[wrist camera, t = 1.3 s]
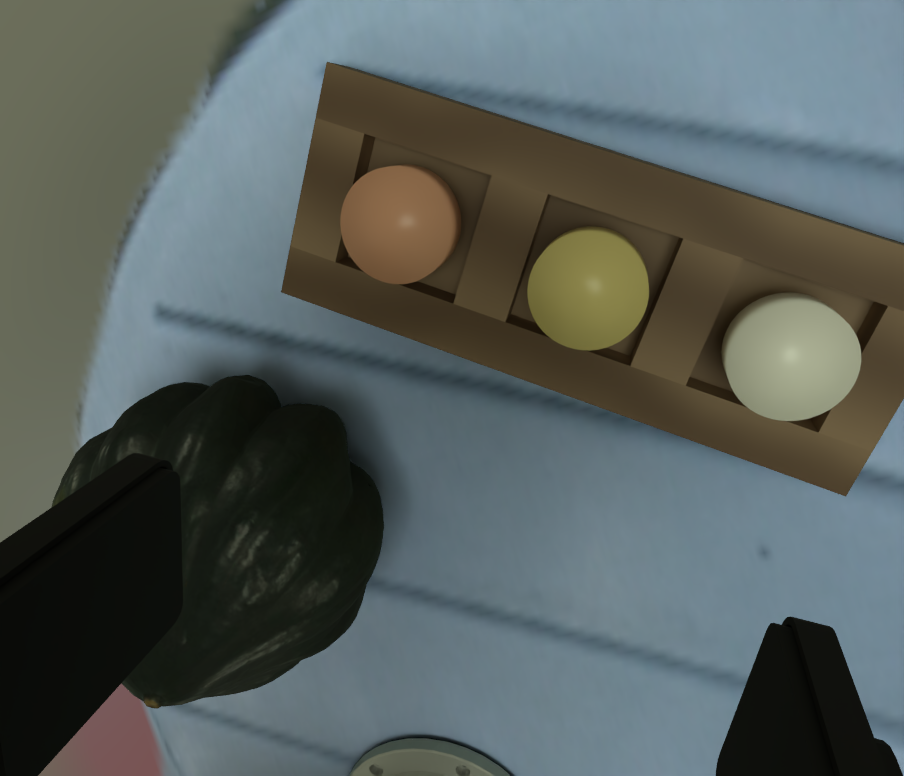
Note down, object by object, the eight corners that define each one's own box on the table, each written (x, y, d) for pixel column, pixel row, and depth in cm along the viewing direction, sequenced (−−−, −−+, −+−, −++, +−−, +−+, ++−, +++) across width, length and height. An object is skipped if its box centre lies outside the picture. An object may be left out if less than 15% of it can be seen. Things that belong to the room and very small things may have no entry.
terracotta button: (443, 290, 31) (433, 299, 29) (345, 256, 31) (329, 263, 30) (474, 184, 29) (465, 187, 28) (369, 149, 30) (354, 151, 28)
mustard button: (623, 353, 30) (622, 366, 28) (518, 316, 31) (512, 327, 29) (666, 247, 28) (668, 255, 27) (554, 210, 29) (549, 215, 27)
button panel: (831, 470, 32) (845, 496, 30) (304, 281, 35) (281, 292, 33) (952, 258, 29) (979, 269, 26) (349, 66, 32) (326, 61, 29)
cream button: (813, 420, 29) (824, 437, 27) (702, 381, 30) (706, 396, 28) (870, 315, 27) (885, 327, 26) (751, 276, 28) (758, 285, 26)
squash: (74, 302, 32) (-112, 646, 26) (395, 350, 30) (284, 741, 23) (193, 434, 45) (89, 688, 38) (426, 474, 43) (360, 753, 36)
